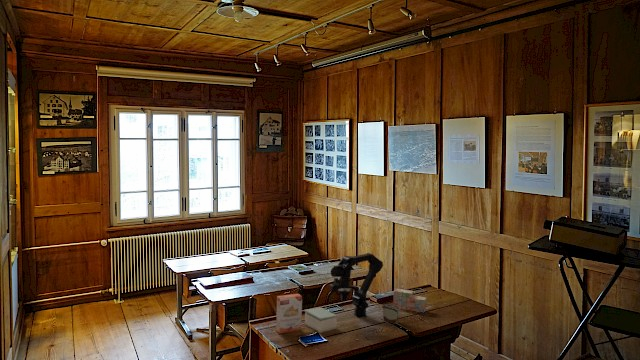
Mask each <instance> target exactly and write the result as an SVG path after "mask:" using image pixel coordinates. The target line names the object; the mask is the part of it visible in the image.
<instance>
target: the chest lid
mask: <svg viewBox="0 0 640 360" xmlns="http://www.w3.org/2000/svg"><path fill="white" fill-rule="evenodd" d="M304 312H305V313H308V314H310V315H312V316H313V317H315V318H317V319H319V320H323V319H329V318H334V317H337V318H338V315H337V314H335V313H334V312H331V311H328V310H327V309H325V308H323V307H315V308H314V307H313V308H309V309H304Z"/></svg>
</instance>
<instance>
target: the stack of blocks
mask: <svg viewBox="0 0 640 360" xmlns="http://www.w3.org/2000/svg"><path fill="white" fill-rule="evenodd" d="M427 299H428V298H427V297H424V296H418V295H414V290H409V289H402V288H395V289H394V290H393V299H392V300H393V302H392V305H396V306H398V307H399V308H401V309H407V310H413V311H417V312H423V313H424V312H425V311H426V312H427V302H428V301H427ZM401 309H400V310H401ZM417 312H416V313H417ZM426 312H425V313H426ZM423 313H422V314H423ZM425 313H424V314H425Z"/></svg>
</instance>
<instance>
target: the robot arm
mask: <svg viewBox="0 0 640 360" xmlns="http://www.w3.org/2000/svg"><path fill="white" fill-rule="evenodd" d="M363 262H367V263H369V265H368V271H367V274H366V276H365V278H364V280H363V282H362V284H361V286H360V287H359V286H358V285H356V284H355V285H354V284H353V285H352V284H351V285H350V283H351V282H352V281H351V280H352V278H351V274H352V271H353V270H355V268H354V266H355V265H356V264H359V263H363ZM383 266H384V264H383V261H382V260H380V259H379V258H377V257H376V256H375V255H374V254H373V253H370V252H367V253H364V254H358V255H353V256H352V255H344V256H342V258H341V260H340V261H339V263H338V264H337V265H333V267H332V268H331V270H330V275H331V277H334V278H333V283H330V284H329V285H328V289H329V290H330V291H335V292H336V291H338V293H339V297H340V300H341V302H343V303H344V301H345V300H346V298H347V296H348V295H349V294H351V291H352V290H353V291H354V293H353V295H352V296H351V297H352V298H351V300H352V301H351V302H352V304H353V306H355V307H354V316H355V317H356V318H357V319H358V318H359V319H360V318H367V309H368V308H369V303H368V302H367V293H368V291H369V289H370V287H371V285H372V283H373V281H374V278H375V277H376V275H377V274H378V273H379V272H381V270H382V269H383ZM338 278H339V279H338Z"/></svg>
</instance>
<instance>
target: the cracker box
mask: <svg viewBox="0 0 640 360" xmlns="http://www.w3.org/2000/svg"><path fill="white" fill-rule="evenodd" d="M302 310H303V296H302V295H301V294H300V293H292V294H284V295H276V322H275V323H276V324H275V325H276V327H275V329H276V332H278V334H285V333H286V334H287V333H292V332H299V331H302V316H303V315H302V314H303V313H302V312H303V311H302Z"/></svg>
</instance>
